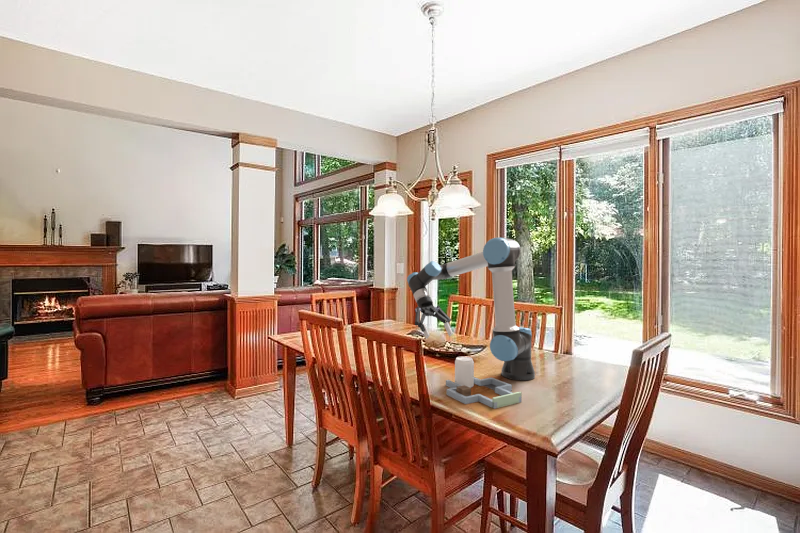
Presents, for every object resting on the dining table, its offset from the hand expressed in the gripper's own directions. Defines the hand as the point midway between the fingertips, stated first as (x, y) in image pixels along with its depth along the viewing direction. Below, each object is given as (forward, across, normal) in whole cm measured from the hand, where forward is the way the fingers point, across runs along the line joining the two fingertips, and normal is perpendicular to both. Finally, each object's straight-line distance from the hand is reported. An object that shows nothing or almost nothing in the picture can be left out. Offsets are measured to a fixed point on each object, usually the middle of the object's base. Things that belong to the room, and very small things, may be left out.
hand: (439, 335), depth 186 cm
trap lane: (+34, 0, +9) cm, 35 cm away
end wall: (+43, +1, +20) cm, 48 cm away
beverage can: (+26, 0, +1) cm, 26 cm away
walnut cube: (+34, +10, +10) cm, 36 cm away
